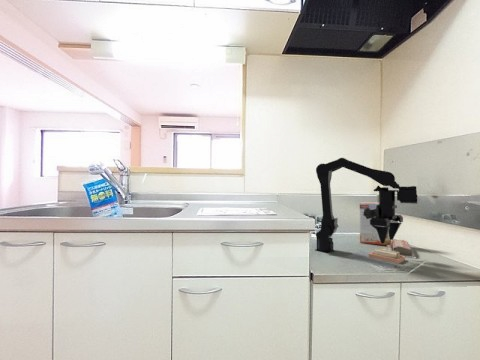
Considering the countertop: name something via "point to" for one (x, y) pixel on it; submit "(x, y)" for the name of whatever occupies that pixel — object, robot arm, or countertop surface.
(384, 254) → the cream rectangular prism
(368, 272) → the countertop surface
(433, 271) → the countertop surface
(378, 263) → the mat
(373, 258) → the frame
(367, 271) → the countertop surface
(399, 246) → the packaged product
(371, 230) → the cracker box
